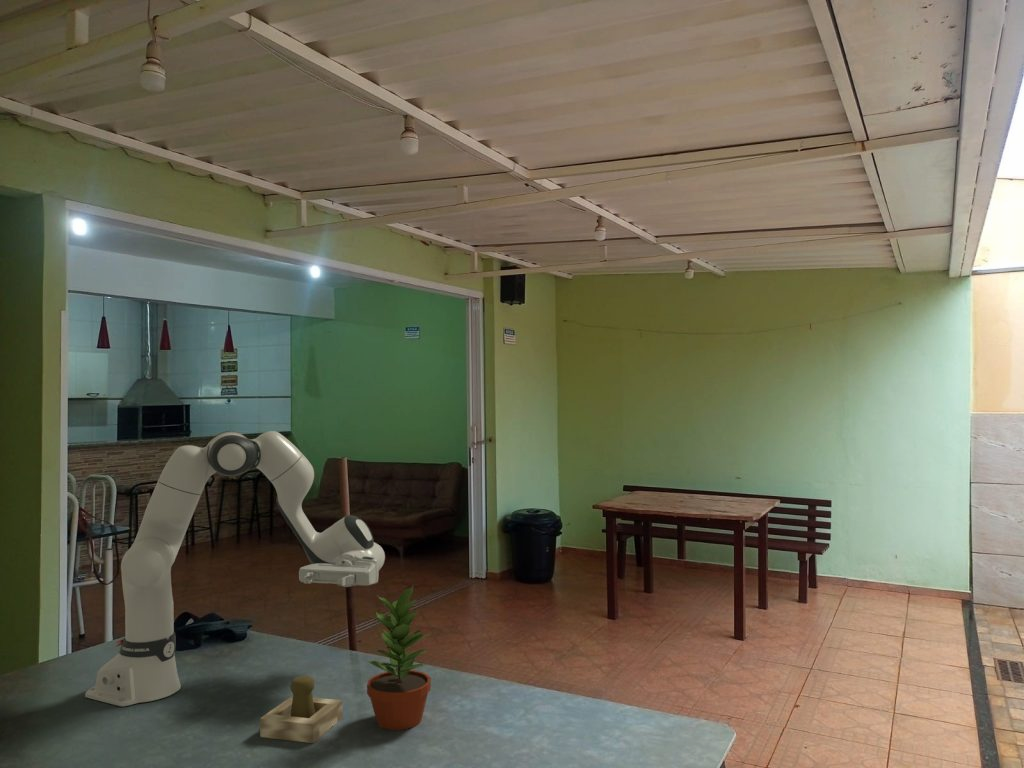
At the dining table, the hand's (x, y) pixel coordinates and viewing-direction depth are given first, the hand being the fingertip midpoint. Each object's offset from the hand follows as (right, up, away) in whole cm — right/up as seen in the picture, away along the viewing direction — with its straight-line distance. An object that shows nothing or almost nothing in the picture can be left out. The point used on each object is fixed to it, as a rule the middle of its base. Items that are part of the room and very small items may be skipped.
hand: (322, 581), depth 185 cm
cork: (0, -28, -19) cm, 34 cm away
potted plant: (+22, -28, -17) cm, 39 cm away
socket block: (0, -28, -19) cm, 34 cm away
